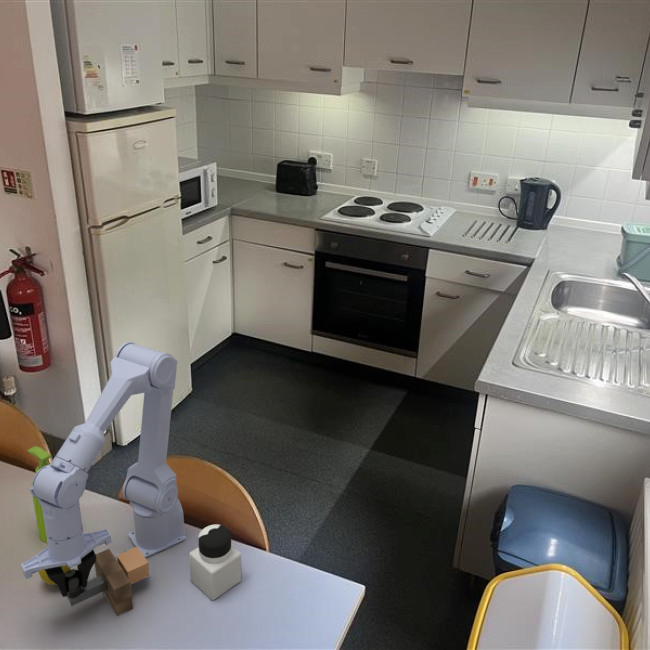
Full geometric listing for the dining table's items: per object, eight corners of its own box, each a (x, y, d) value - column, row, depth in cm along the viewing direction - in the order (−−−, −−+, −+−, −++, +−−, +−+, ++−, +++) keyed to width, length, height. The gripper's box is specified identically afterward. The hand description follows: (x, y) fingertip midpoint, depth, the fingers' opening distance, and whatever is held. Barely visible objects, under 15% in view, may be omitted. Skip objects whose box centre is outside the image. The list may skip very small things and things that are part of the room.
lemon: (62, 596, 118) (57, 564, 115) (35, 590, 119) (29, 558, 116) (78, 574, 123) (74, 542, 120) (52, 568, 124) (47, 537, 121)
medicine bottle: (242, 581, 124) (241, 533, 119) (212, 601, 119) (211, 553, 114) (218, 561, 128) (217, 514, 123) (189, 580, 123) (187, 532, 118)
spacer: (138, 560, 123) (137, 546, 122) (149, 576, 120) (148, 562, 118) (118, 569, 121) (116, 555, 120) (129, 586, 118) (127, 572, 116)
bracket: (112, 574, 124) (109, 548, 121) (133, 608, 117) (130, 582, 114) (96, 581, 122) (93, 555, 119) (117, 616, 115) (114, 589, 112)
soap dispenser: (56, 516, 137) (44, 439, 129) (75, 531, 134) (64, 452, 125) (30, 531, 133) (16, 452, 124) (50, 547, 129) (37, 466, 121)
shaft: (143, 562, 123) (141, 538, 120) (149, 571, 121) (147, 547, 118) (64, 598, 114) (60, 573, 112) (69, 609, 112) (65, 584, 110)
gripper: (25, 562, 100) (37, 623, 106) (115, 525, 109) (121, 584, 114) (13, 535, 105) (25, 596, 111) (100, 502, 114) (106, 560, 119)
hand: (73, 588), depth 113 cm, fingers closed on shaft, 3 cm apart
